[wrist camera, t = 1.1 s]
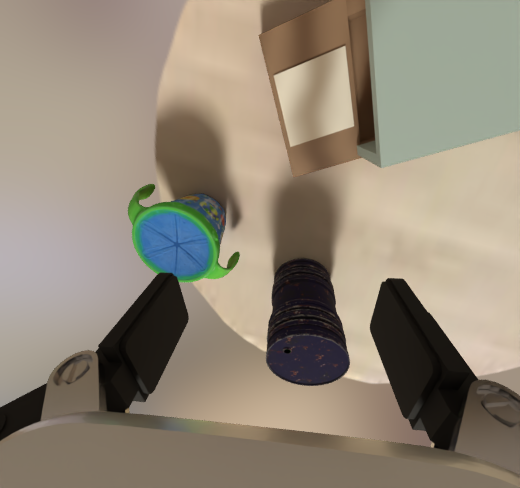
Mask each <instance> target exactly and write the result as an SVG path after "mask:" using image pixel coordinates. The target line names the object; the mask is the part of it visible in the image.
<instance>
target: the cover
mask: <svg viewBox="0 0 520 488" xmlns="http://www.w3.org/2000/svg"><path fill="white" fill-rule="evenodd" d="M365 7H366V20H367V34H368V47H369V61H370V74H371V88H372V101H373V115H374V128H375V140H374V141H371V142H367V143H364V144H361V145H358V146H357V152H358V155H359V156H361V157H362V158H364V159H366V160H368V161H369V162H371V163H373V164H375V165H377V166H378V167H380V168H384V167H387V166H391V165H395V164H398V163H402V162H406V161H409V160H413V159H417V158H420V157H424V156H428V155H431V154H435V153H439V152H442V151H446V150H450V149H453V148H457V147H461V146H464V145H468V144H472V143H475V142H479V141H483V140H486V139H490V138H494V137H497V136H501V135H505V134H508V133H512V132H516V131H519V130H520V0H365Z"/></svg>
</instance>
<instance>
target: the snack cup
mask: <svg viewBox="0 0 520 488" xmlns="http://www.w3.org/2000/svg"><path fill="white" fill-rule="evenodd" d="M154 189H155V185H154V184H148V185H146V186H144V187H142V188H140V189H139V190H138V191H137V192H136V193H135V194H134V196H133V198H132V200H131V201H130V203H129V207H128V215H129V218H130V220H131V222H132V224H133V229H132V239H133V243H134V247H135V249H136V251H137V253H138V255H139V256H140V258H141V259H142V261H143V262H144V263H145V264H146V265H147V266H148V267H149V268H150V269H151V270H153V271H154V272H155V273H157V274H159V273H161V272H163V273H173V274H174V276H176V277H177V278H178V282H194V281H198V280H200V279H202V278H208V279H218V278H221V277H224V276H225V275H227V274H228V273H229V272H230V271H231V270H232V269H233V268H234V267H235V265H236V264H237V262H238V260H239V256H240V254H239V252H235V253H234V254H233V255H232V256H231V258H230V259H229V261H228V264H227V268H223V267H221V266H220V265H219V263H218V258H219V253H220V244H221V240H222V237H223V232H224V230H225V225H226V217H225V211H224V209H223V208H222V207H221V206H220V204H219V203H218V202H217V201H216V200H214V199H213V198H211V197H209V196H207V195H205V194H191V195H188V196H185V197H182V198H179V199H177V200H175V201H171V202H162V203H158V204H155V205H153V206H151V207H143V206H142V205H140V204H139V200H142V199H146V198H148V197H149V196H150V195H151V194H152V193H153V191H154Z"/></svg>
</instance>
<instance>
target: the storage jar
mask: <svg viewBox="0 0 520 488" xmlns="http://www.w3.org/2000/svg"><path fill="white" fill-rule="evenodd" d="M335 305H336V301H335V295H334V289H333V285H332V283H331V281H330V276H329V273H328V271H327V270H326V268H325V267H324V266H323V265H321V264H320V263H318V262H316V261H314V260H310V259H304V258H303V259H294V260H290V261H288V262H286V263H284V264H283V265H282V266H280V267H279V269H278V270H277V272H276V274H275V278H274V284H273V290H272V306H273V311H272V314H271V317H270V320H269V325H268V327H269V328H268V335H267V352H266V362H267V365H268V367H269V369H270V370H271V371H272V372H273V373H274V374H275V375H276V376H278V377H280V378H281V379H283V380H285V381H288V382H291V383H294V384H298V385H306V386H318V385H324V384H329V383H332V382H334V381H336V380H338V379H340V378H341V377H342V376H344V375H345V374H346V372H347V371H348V369H349V365H350V359H349V355H348V351H347V346H346V339H345V334H344V331H343V327H342V323H341V320H340V318H339V316H338V315H337V312H336V308H335Z"/></svg>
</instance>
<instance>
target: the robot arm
mask: <svg viewBox="0 0 520 488" xmlns="http://www.w3.org/2000/svg"><path fill="white" fill-rule="evenodd" d="M187 323H188V312H187V309H186V306H185V302H184V299H183V295H182V292H181V289H180V285H179V282H178V278H177V277H176V276H174V274H173V273H163V272H161V273H159V274H158V275H157V276H156V277H155V278H154V279H153V281H152V282H151V283H150V284H149V285H148V287H147V288H146V289H145V290H144V291H143V293H142V294H141V295H140V296H139V297H138V299H137V300H136V301H135V302H134V304H133V305H132V306H131V307H130V308H129V309H128V311H127V312H126V313H125V314H124V316H123V317H122V318H121V319H120V320H119V321H118V323H117V324H116V325H115V326H114V327H113V329H112V330H111V331H110V332H109V334H108V335H107V336H106V337H105V338H104V340H103V341H102V342H101V343H100V344H99V346H98V347H99V348H98V350H97V351H96V352H94V351H90V350H87V351H81V352H78V353H75V354H73V355H72V356H70V357H68V358H66V359H65V360H64V361H62V362H61V363H60V364H59V365H58V366H57V367H56V368H55V369H54V370H53V372H52V373H51V375H50V376H49V379H48V382H47V383H46V384H44V385H42V386H41V387H39V388H37V389H35V390H33V391H31V392H29V393H27V394H25V395H23V396H21V397H19V398H17V399H16V400H14V401H12V402H10V403H8V404H6V405H4V406H2V407H0V488H520V396H519V395H518V394H517V393H515V392H514V391H512V390H510V389H509V388H507V387H505V386H503V385H501V384H499V383H496V382H493V381H489V380H478V379H477V377H476V376H475V375H474V373H473V372H472V370H471V369H470V368H469V366H468V365H467V363H466V362H465V361H464V359H463V358H462V357H461V355H460V354H459V352H458V351H457V350H456V348H455V347H454V346H453V344H452V343H451V341H450V340H449V339H448V337H447V336H446V334H445V333H444V332H443V330H442V329H441V328H440V326H439V325H438V323H437V322H436V321H435V319H434V318H433V317H432V315H431V314H430V313H428V312H427V311H426V309H425V308H424V307H423V305H422V304H421V302H420V301H419V300H418V298H417V297H416V295H415V294H414V293H413V291H412V290H411V288H410V287H409V286H408V284H407V283H406V281H405V280H404V279H395V278H388V279H387V280H386V282H382V284H381V287H380V291H379V294H378V298H377V302H376V305H375V309H374V312H373V316H372V320H371V323H370V331H371V334H372V337H373V339H374V342H375V345H376V347H377V350H378V353H379V355H380V358H381V360H382V363H383V366H384V368H385V371H386V373H387V376H388V379H389V381H390V384H391V386H392V389H393V392H394V394H395V397H396V399H397V402H398V405H399V407H400V410H401V412H402V415H403V416H404V417H405V418H406V419H409V421H410V424H411V426H412V429H413V430H424V431H426V432H427V434H428V436H429V439H430V440H431V441H432V443H431V446H430V447H426V446H418V445H411V444H404V443H396V442H388V441H381V440H373V439H365V438H356V437H346V436H339V435H329V434H321V433H312V432H304V431H295V430H286V429H277V428H268V427H258V426H249V425H240V424H231V423H222V422H212V421H203V420H193V419H183V418H174V417H164V416H154V415H143V414H130V412H129V406H130V405H131V403H132V401H139V402H145V401H146V399H147V397H148V395H149V394H151V393H152V392H153V391H154V390H155V388H156V386H157V384H158V382H159V380H160V378H161V375H162V374H163V371H164V369H165V368H166V365H167V364H168V361H169V359H170V357H171V355H172V353H173V351H174V349H175V347H176V345H177V343H178V341H179V339H180V337H181V335H182V332H183V331H184V329H185V327H186V324H187Z"/></svg>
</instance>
